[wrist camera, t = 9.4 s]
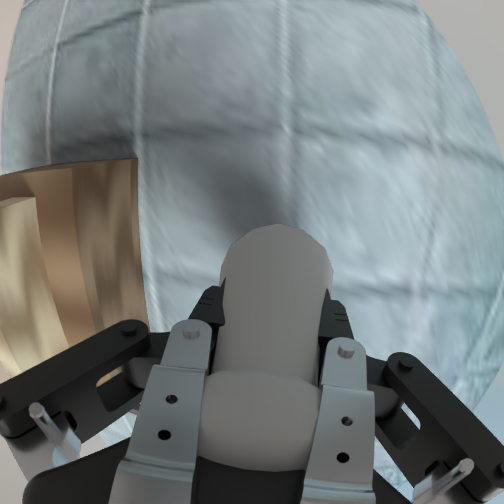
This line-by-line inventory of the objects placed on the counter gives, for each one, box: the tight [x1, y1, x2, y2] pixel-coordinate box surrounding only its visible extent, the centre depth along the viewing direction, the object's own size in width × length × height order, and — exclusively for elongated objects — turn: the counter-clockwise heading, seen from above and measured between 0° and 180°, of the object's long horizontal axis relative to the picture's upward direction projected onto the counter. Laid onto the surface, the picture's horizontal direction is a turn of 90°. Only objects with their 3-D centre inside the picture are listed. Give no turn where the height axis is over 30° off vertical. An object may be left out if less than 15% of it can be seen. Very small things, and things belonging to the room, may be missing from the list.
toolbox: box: [5, 158, 150, 374], centre depth 18 cm, size 15×10×6 cm, turn 176°
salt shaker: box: [199, 223, 333, 472], centre depth 10 cm, size 6×6×13 cm
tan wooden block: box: [0, 166, 140, 415], centre depth 16 cm, size 25×10×10 cm, turn 176°
